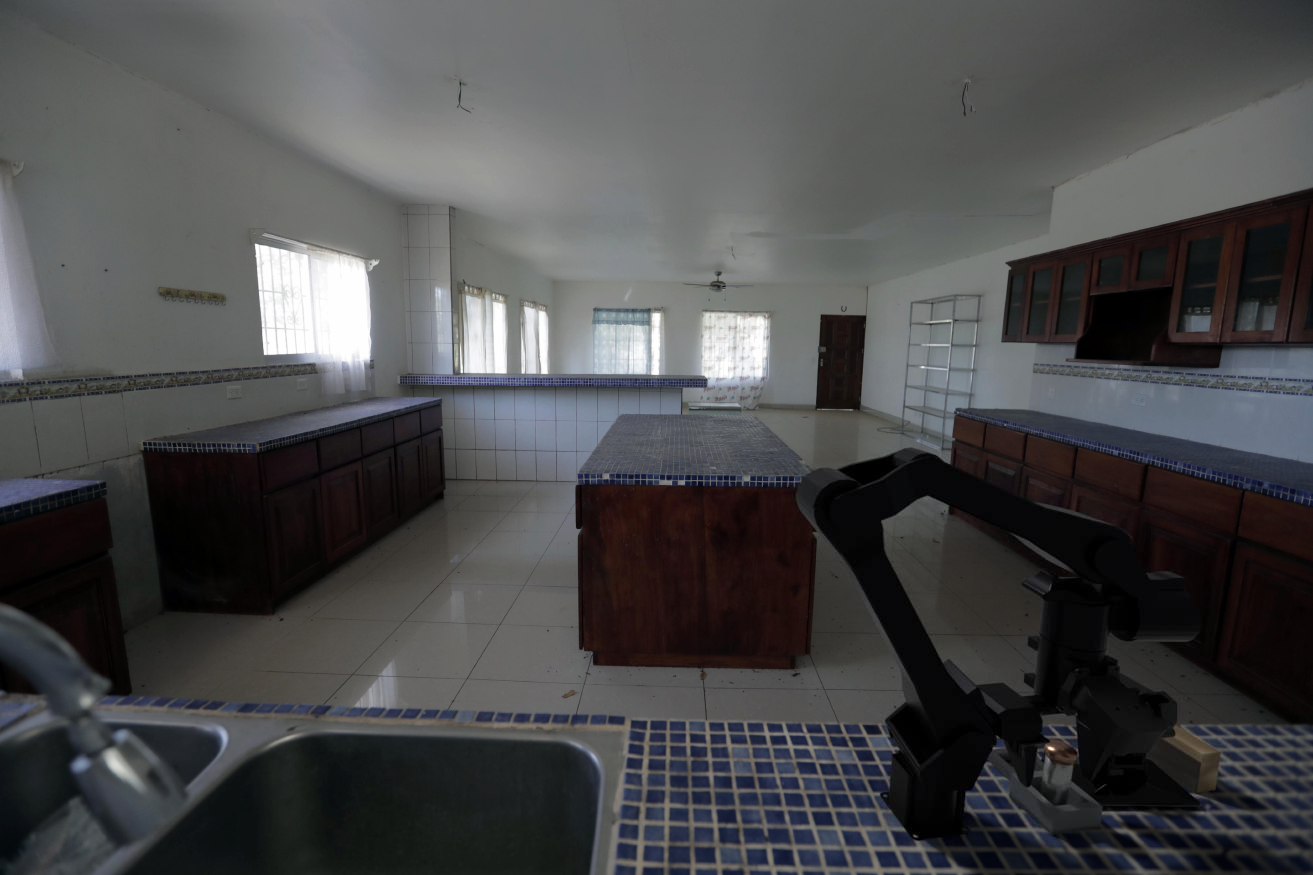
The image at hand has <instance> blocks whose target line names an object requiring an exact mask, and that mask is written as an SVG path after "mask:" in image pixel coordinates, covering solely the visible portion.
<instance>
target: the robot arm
mask: <svg viewBox="0 0 1313 875" xmlns="http://www.w3.org/2000/svg"><path fill="white" fill-rule="evenodd" d="M925 497H929V498H932V499H933V500H936V501H939V502H941V503H943V504H944V505H947V506H950V507H951V508H954V509H956V510H958V511H961V512H963V513H965V514H968V515H970V516H972V517H974V518H976V519H979V520H981V521H983V522H986V523H987V524H990V525H992V526H994V527H997V528H999V529H1002V530H1003V531H1006V532H1008V533H1010V534H1011V535H1012V536H1014V537H1015V538H1016V539H1018V541H1020V542H1021V543H1023V545H1025V546H1026V547H1028V549H1031V550H1032V551H1033V552H1035V553H1036V554H1038V555H1039V556H1041V557H1042V558H1044V559H1045V560H1047V561H1049V562H1051V563H1053V564H1054V565H1055V566H1058V567H1060V568H1062V569H1064V570H1067V571H1068V572H1071V573H1073V574H1075V575H1077V576H1059V575H1057V574H1055V573H1053V572H1051V571H1050V570H1047V569H1046V568H1041V569H1040V570H1039V571H1038V572H1037V573H1036V574H1033V575H1032V576H1029V577H1027V578H1026V579H1025V580H1023V581H1022V582H1021V586H1022V588H1023V589H1024V590H1026V591H1028V592H1030V593H1031V594H1032V595H1035V596H1036V597H1038V598H1039V599H1041V609H1040V618H1039V626H1038V635H1032V636H1031V635H1030V636H1029V635H1028V637H1027V645H1026V646H1028V647H1029V648H1030V649H1033V650H1034V651H1036V655H1035V664H1034V671H1033V672H1026V673H1025V672H1024V673H1023V674H1024V675H1023V683H1024V684H1026V685H1027V686H1028V687H1029V688H1031V689H1033V690H1032V693H1033V695H1032V694H1031V695H1030V694H1029V695H1023V696H1022V695H1021V694H1020V693H1018V692H1017V691H1015V690H1014V689H1012V687H1010V686H1009V685H1007V684H1006V683H1005V682H995V683H993V682H992V683H983V684H980V683H979V684H976V683H975V682H974V681H972V679H971V678H969V677H968V676H967V675H966V673H964V672H963V670H961V669H960V668H959V667H958V666H957V665H956V664H955V662H953V661H952V660H951V659H950V658H947V660H945V661H943V660H942V658H941V657H940V655H939V653H938V651H937V649H936V647H935V645H934V643H933V641H932V639H931V638H930V636H929V634H928V632H927V630H926V627H925V625H924V624H923V622H922V620H921V618H920V616H919V615H918V613H917V611H916V609H915V607H914V605H913V603H912V602H911V599H910V597H909V595H908V593H907V591H906V590H905V588H904V586H903V584H902V582H901V580H900V578H899V576H898V574H897V573H896V571H895V568H894V567H893V564H892V563H891V561H890V560H889V557H888V555H887V553H886V545H885V544H886V543H885V529H884V526H883V523H882V522H883V521H885V520H887V519H890V518H892V517H895V516H896V515H898V514H899V513H901V512H902V511H903V510H905V509H906V508H908V507H909V506H910V505H912V504H913V503H915V502H916V501H917V500H920V499H922V498H925ZM795 500H796V503H797V506H798V509H799V510H800V512H801V514H803V516H804V517H805V519H807V520H808V522H809V523H810V525H812V526H811V527H813V528H814V529H815V531H816V533H818V534H819V536H821V538H822V539H823V541H824V542H825V543H826V544H827V545H828V546H829V548H830V549H831V550H832V551H833V553H835V555H836V556H837V557H838V558H839V560H840V561H841V563H842V564H843V565H844V568H845V570H846V572H847V574H848V575H849V577H850V579H851V581H852V583H853V585H854V587H855V588H856V590H857V592H858V594H859V596H860V598H861V599H862V602H863V603H864V605H865V607H866V609H867V612H868V613H869V615H870V616H871V618H872V620H873V622H874V624H875V626H876V628H877V629H878V631H879V633H880V635H881V637H882V639H883V641H884V643H885V645H886V646H887V648H888V650H889V652H890V655H891V656H892V658H893V659H894V661H895V663H896V665H897V667H898V668H899V672H900V674H901V689H902V690H901V691H902V693H903V696H904V698H905V702H904V703H903V704H901V705H900V706H899V707H898V708H897V709H896V710H894V711H893V712H892V713H891V714H889V715H888V716H887V717H886V718H885V719H884V723H885V726H886V730H887V733H888V736H889V738H890V739H891V740H893V742H894V744H895V745H896V747H897V748H898V751H897V752H896V753H895V752H894V753H891V763H890V775H889V776H890V777H889V788H888V791H882V792H880V793H879V796H880V798H881V799H882V801H883V803H885V805H886V806H887V807H888V809H889V810H890V812H891V813H892V814H893V816H894V817H895V818H896V820H898V822H899V824H901V826H902V828H903V829H904V831H906V833H907V834H908V836H910V838H911V839H912V840H914V841H923V840H932V839H938V838H939V839H941V838H946V837H954V836H962V835H963V836H964V835H969V834H971V833H972V830H971V828H970V827H969V826H968V824H966V822H965V821H964V820H963V819H962V818H961V817H964V815H965V806H966V797H967V796H966V795H967V791H968V792H969V791H972V790H973V789H974V787H975V785H976V784H977V782H978V779H979V777H980V774H981V772H982V771H983V768H984V767H985V765H986V763H987V761H988V760H987V759H988V757H989V755H990V753H991V752H992V749H993V748H994V747H995V746H997V741H998V740H997V739H998V738H999V739H1000V740H1002V741H1003V744H1004V746H1005V748H1007V751H1008V754H1009V756H1010V759H1011V760H1010V761H1011V764H1012V768H1013V769H1015V772H1016V774H1017V777H1018V779H1019V781H1020V783H1022V784H1023V785H1024V786H1025V787H1026V788H1027V787H1030V786H1031V783H1032V779H1033V776H1034V771H1035V764H1036V757H1037V758H1038V751H1039V747H1041V746H1045V744H1047V743H1050V740H1049V738H1047V737H1046V736H1044V734H1042V731H1043V725H1044V724H1043V723H1044V720H1043V719H1048V718H1061V717H1070V716H1075V726H1076V738H1077V739H1076V740H1077V753H1078V755H1077V757H1078V758H1079V763H1080V769H1081V773H1082V775H1083V776H1084V777H1086V778H1087V779H1088V780H1093V779H1094V778H1095V776H1096V775H1097V773H1098V772H1099V770H1100V769H1101V767H1102V766H1103V764H1104V763H1105V761H1106V760H1107V758H1108V756H1109V754H1110V753H1112V754H1114V755H1118V756H1124V755H1127V754H1130V753H1139V752H1143V753H1149V752H1151V751H1152V750H1153V748H1154V747H1155V745H1156V744H1157V742H1158V741H1159V740H1160V738H1169V737H1174V736H1175V734H1176V733H1175V730H1174V729H1173V728H1174V726H1175V725H1176V726H1177V723H1178V702H1177V701H1176V700H1174V698H1173V697H1171V695H1169V694H1168V693H1167V692H1166V691H1163V690H1162V691H1161V690H1160V691H1154V690H1152V689H1151V688H1149V687H1147V686H1145V685H1144V684H1142V683H1141V682H1140V683H1139V682H1138V681H1136V680H1135V679H1133V678H1131V677H1129V676H1127V675H1125V674H1123V673H1122V672H1120V670H1121V667H1120V665H1118V664H1119V660H1118V659H1116V658H1114V657H1112V656H1110V655H1108V651H1109V642H1110V641H1109V640H1110V633H1111V635H1113V636H1114V637H1115V638H1117V639H1118V640H1120V641H1123V642H1155V643H1157V642H1158V643H1160V642H1161V643H1163V642H1164V643H1165V642H1167V643H1168V642H1170V643H1171V642H1173V643H1176V642H1177V643H1181V642H1182V643H1187V642H1190V641H1193V640H1194V639H1195V638H1196V637H1198V636H1199V633H1200V632H1201V629H1202V625H1203V624H1202V623H1203V618H1202V616H1201V615H1200V610H1199V607H1198V605H1197V602H1196V601H1195V598H1193V596H1192V595H1191V593H1190V592H1189V591H1188V590H1186V588H1187V587H1186V585H1187V579H1186V577H1183V576H1182V575H1179V574H1177V573H1174V572H1172V571H1168V570H1166V571H1165V570H1159V571H1151V572H1146V571H1145V569H1144V568H1143V566H1142V565H1141V563H1140V561H1139V559H1138V557H1136V554H1135V553H1134V545H1133V543H1132V541H1133V537H1132V535H1131V534H1130V533H1129V532H1128V531H1127V530H1125V529H1123V528H1122V527H1120V526H1117V525H1115V524H1111V523H1109V522H1106V521H1104V520H1100V519H1099V518H1095V517H1092V516H1088V515H1087V514H1084V513H1081V512H1077V511H1075V510H1073V509H1067V508H1063V507H1059V506H1056V505H1051V504H1047V503H1043V502H1036V501H1033V500H1030V499H1028V498H1025V497H1023V496H1021V495H1019V494H1017V493H1014V492H1012V491H1010V490H1008V489H1005V488H1003V487H1002V486H998V485H997V484H995V483H993V482H990V481H988V480H985V479H984V478H981V477H979V476H977V475H974V474H972V473H970V472H968V471H966V470H963V469H962V468H960V467H958V466H955V465H953V464H950V463H948V462H946V461H944V460H943V459H942V458H941V457H940V456H938V455H937V454H934V453H931V452H929V451H925V450H923V449H919V448H916V447H911V446H910V447H904V448H902V449H900V450H897V451H894V452H891V453H889V454H886V455H884V456H878V457H875V458H871V459H866V460H862V461H857V462H852V463H849V464H846V465H843V466H841V467H838V468H836V469H835V468H831V467H820V468H816V469H814V470H812V471H810V472H808V473H807V474H806V475H804V477H803V478H802V480H801V481H800V482H799V484H798V487H797V490H796V493H795ZM1078 576H1079V577H1078ZM1090 582H1091V583H1090ZM1092 583H1094V584H1092ZM884 795H885V796H884ZM965 829H967V830H965ZM914 835H915V836H917V837H915V836H914Z"/></svg>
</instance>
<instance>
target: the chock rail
mask: <svg viewBox="0 0 1313 875" xmlns="http://www.w3.org/2000/svg"><path fill="white" fill-rule="evenodd" d="M1173 729H1174V730H1175V733H1176V734H1175V736H1174V737H1169V738H1160V740H1159V741H1158V742H1157V744H1156V745H1155V747H1154V748H1153V750H1152V751H1151V752H1149V753H1146V759H1150V760H1151V761H1153V762H1154V763H1155V764H1156V765H1157V766H1158V767H1160V768H1161V769H1162V770H1163V771H1164V772H1165V773H1167V774H1168V775H1169V776H1170V777H1171V778H1172V779H1174V780H1175V781H1176V782H1177V783H1178V784H1179V785H1181V786H1182V787H1183V788H1184V789H1186V790H1188V791H1190V792H1192V793H1193V794H1197V793H1198V794H1199V793H1204V792H1205V791H1206V792H1211V790H1212V791H1216V787H1217V781H1218V774H1219V767H1220V760H1221V756H1222V751H1220V750H1219V749H1217V748H1215V747H1213V746H1211V745H1210V744H1208V743H1206V742H1205V741H1204V740H1202V739H1200V738H1198V737H1197V736H1196V735H1195V736H1194V735H1193V734H1192V733H1190V732H1188V731H1186V729H1183V728H1182V727H1179V726H1177V724H1176V725H1175V726H1174V728H1173Z"/></svg>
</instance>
